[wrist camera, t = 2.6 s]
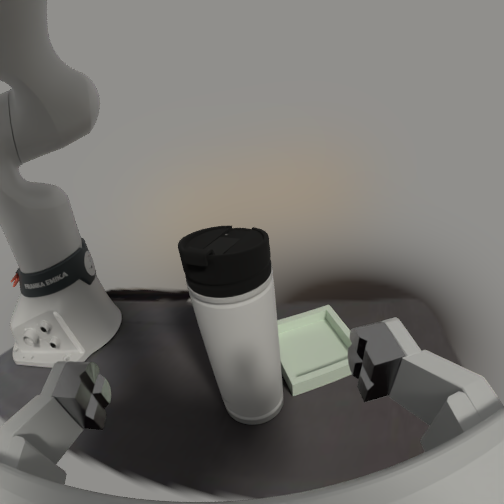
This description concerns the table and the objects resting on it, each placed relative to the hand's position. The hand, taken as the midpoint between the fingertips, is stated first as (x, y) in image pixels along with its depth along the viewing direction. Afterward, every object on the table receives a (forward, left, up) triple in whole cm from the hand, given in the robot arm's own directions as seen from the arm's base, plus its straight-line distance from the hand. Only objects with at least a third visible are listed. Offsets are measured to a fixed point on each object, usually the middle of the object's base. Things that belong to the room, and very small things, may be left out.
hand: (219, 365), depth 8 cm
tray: (+11, +17, -21) cm, 29 cm away
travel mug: (+2, +12, -21) cm, 24 cm away
